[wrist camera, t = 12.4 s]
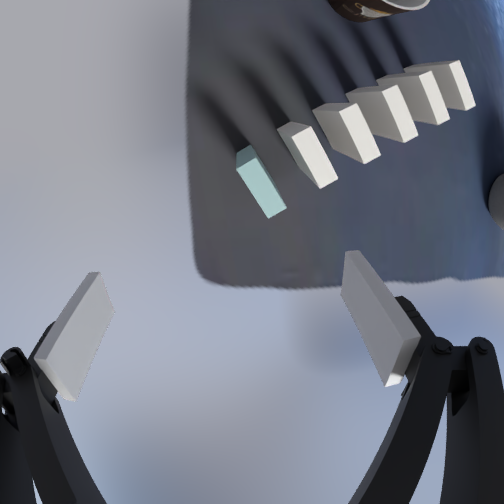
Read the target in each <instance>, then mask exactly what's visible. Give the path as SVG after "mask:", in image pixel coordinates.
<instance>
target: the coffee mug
mask: <svg viewBox="0 0 504 504" xmlns="http://www.w3.org/2000/svg"><path fill="white" fill-rule="evenodd" d="M328 1H329V3H330V5H331V6H332V8H333V9H334V10H335V11H336V12H337V13H338V14H339V15H341V16H342V17H344V18H346V19H348V20H351V21H354V22H366V21H370V20H374V19H378V18H382V17H386V16H390V15H394V14H398V13H403V12H408V11H413V10H418V9H421V8H423V7H425V6H426V5H427V4H428V3H429V1H430V0H328Z"/></svg>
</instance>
